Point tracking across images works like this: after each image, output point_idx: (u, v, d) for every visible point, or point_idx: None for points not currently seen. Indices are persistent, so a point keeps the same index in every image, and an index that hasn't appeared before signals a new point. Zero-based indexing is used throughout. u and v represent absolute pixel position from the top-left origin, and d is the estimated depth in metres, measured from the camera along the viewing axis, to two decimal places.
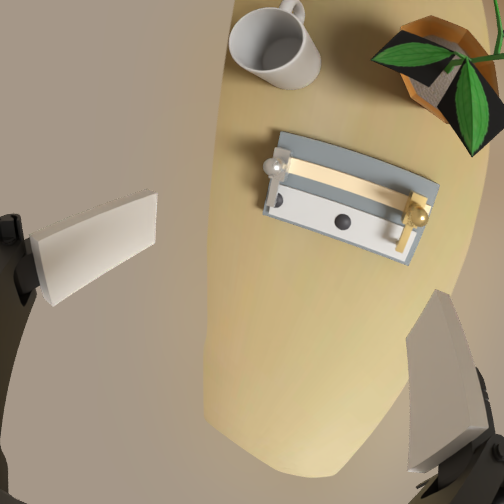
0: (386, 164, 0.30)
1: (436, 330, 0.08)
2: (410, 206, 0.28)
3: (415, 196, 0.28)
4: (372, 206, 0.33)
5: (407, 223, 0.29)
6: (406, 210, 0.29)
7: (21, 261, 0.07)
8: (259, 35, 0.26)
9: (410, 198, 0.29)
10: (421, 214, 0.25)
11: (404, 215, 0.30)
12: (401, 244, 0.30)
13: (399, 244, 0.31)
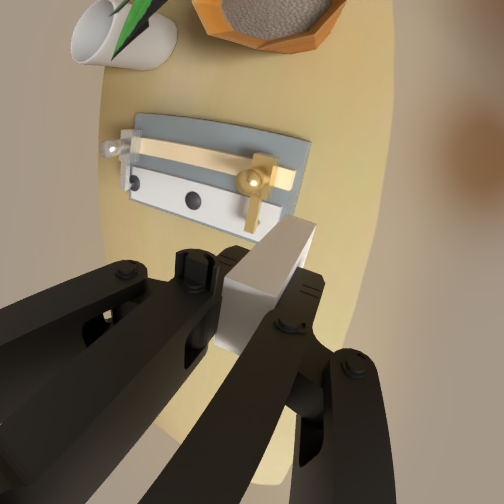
0: (234, 127, 0.27)
1: None
2: None
3: (257, 158, 0.24)
4: (223, 179, 0.29)
5: (252, 194, 0.25)
6: None
7: (203, 317, 0.07)
8: None
9: None
10: (247, 176, 0.22)
11: None
12: (249, 222, 0.27)
13: (246, 222, 0.27)
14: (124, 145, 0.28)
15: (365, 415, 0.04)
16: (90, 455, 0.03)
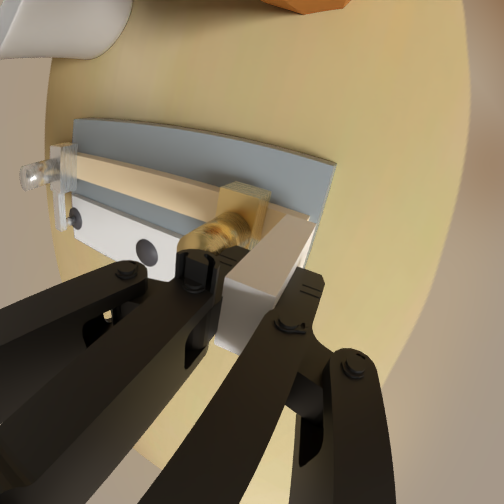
0: (202, 136, 0.15)
1: None
2: None
3: (227, 196, 0.13)
4: (189, 223, 0.18)
5: None
6: None
7: (203, 318, 0.07)
8: None
9: None
10: (198, 246, 0.11)
11: None
12: None
13: None
14: (50, 170, 0.17)
15: (365, 415, 0.04)
16: (90, 455, 0.03)
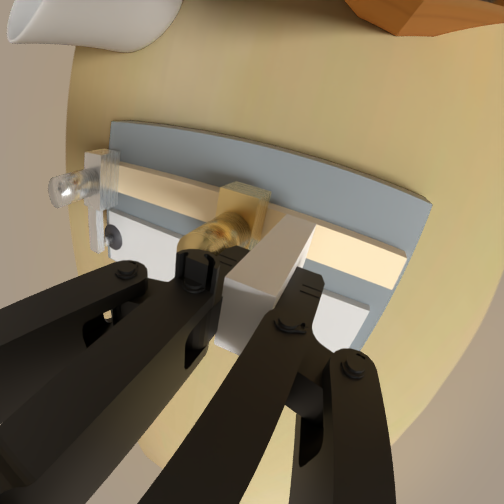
0: (295, 158, 0.14)
1: None
2: None
3: (227, 196, 0.13)
4: None
5: None
6: None
7: (203, 317, 0.07)
8: None
9: None
10: (198, 246, 0.11)
11: None
12: None
13: None
14: (88, 182, 0.15)
15: (365, 415, 0.04)
16: (89, 455, 0.03)
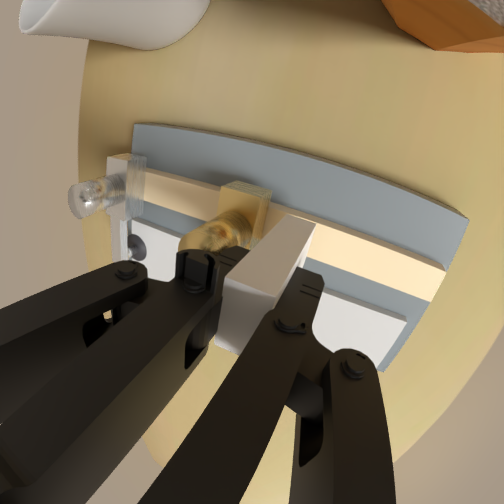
0: (342, 171, 0.13)
1: None
2: None
3: (228, 196, 0.13)
4: (310, 266, 0.16)
5: None
6: None
7: (203, 318, 0.07)
8: None
9: None
10: (199, 245, 0.11)
11: None
12: None
13: None
14: (113, 190, 0.15)
15: (365, 415, 0.04)
16: (90, 455, 0.03)
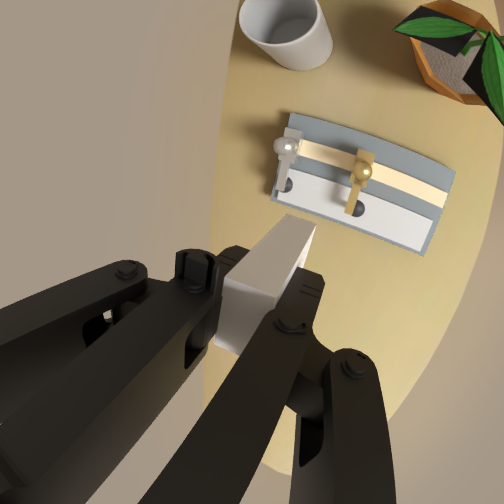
0: (401, 148, 0.28)
1: None
2: (355, 162, 0.27)
3: (361, 152, 0.27)
4: (387, 192, 0.30)
5: (354, 182, 0.29)
6: None
7: (203, 318, 0.07)
8: (269, 14, 0.23)
9: (356, 155, 0.28)
10: (363, 166, 0.25)
11: (351, 173, 0.29)
12: (349, 205, 0.30)
13: (347, 205, 0.30)
14: (296, 145, 0.29)
15: (365, 415, 0.04)
16: (90, 455, 0.03)
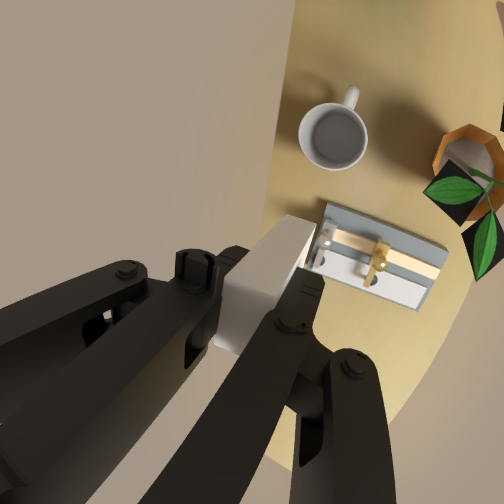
0: (409, 236, 0.38)
1: None
2: (375, 253, 0.38)
3: (380, 245, 0.38)
4: (395, 268, 0.41)
5: (372, 265, 0.39)
6: (372, 255, 0.39)
7: (203, 317, 0.07)
8: (317, 117, 0.34)
9: (376, 246, 0.38)
10: (381, 262, 0.35)
11: (370, 259, 0.39)
12: (367, 281, 0.40)
13: (365, 281, 0.40)
14: (332, 238, 0.39)
15: (365, 415, 0.04)
16: (89, 454, 0.03)
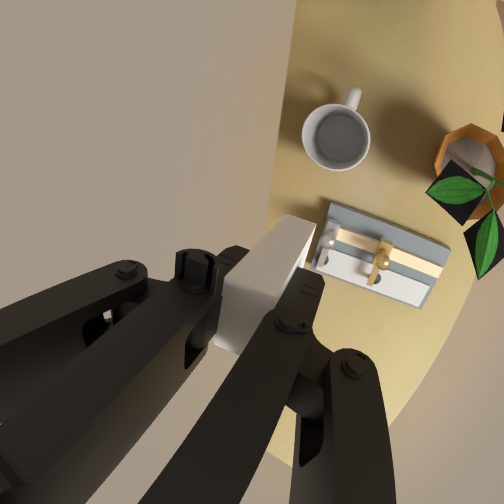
0: (412, 235, 0.38)
1: None
2: (378, 252, 0.38)
3: (383, 244, 0.38)
4: (398, 266, 0.41)
5: (376, 264, 0.39)
6: (375, 254, 0.39)
7: (203, 317, 0.07)
8: (320, 117, 0.34)
9: (379, 245, 0.39)
10: (384, 261, 0.35)
11: (374, 258, 0.40)
12: (371, 280, 0.41)
13: (369, 280, 0.41)
14: (336, 237, 0.40)
15: (365, 415, 0.04)
16: (89, 454, 0.03)
